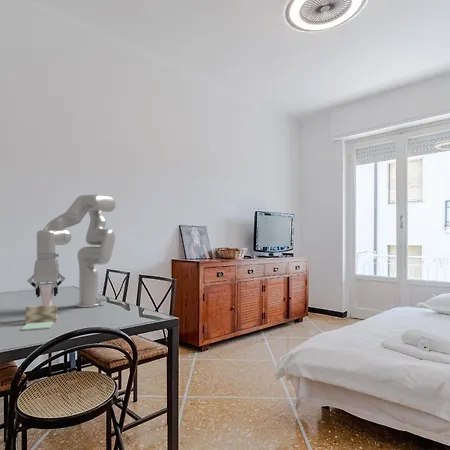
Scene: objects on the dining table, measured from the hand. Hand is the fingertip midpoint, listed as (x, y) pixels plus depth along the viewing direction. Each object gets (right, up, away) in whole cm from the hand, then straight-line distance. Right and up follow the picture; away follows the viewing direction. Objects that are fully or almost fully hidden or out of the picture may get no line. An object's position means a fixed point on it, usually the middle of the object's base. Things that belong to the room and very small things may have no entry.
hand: (46, 295), depth 162 cm
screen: (+2, -10, -9) cm, 13 cm away
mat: (+5, -9, -17) cm, 20 cm away
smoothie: (0, -4, 0) cm, 4 cm away
